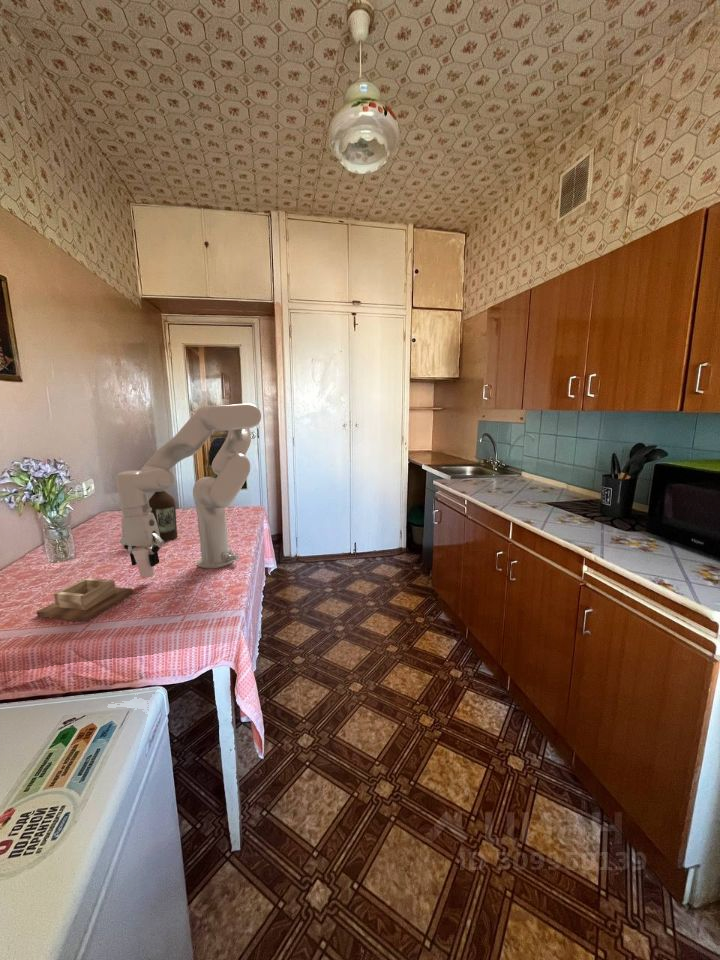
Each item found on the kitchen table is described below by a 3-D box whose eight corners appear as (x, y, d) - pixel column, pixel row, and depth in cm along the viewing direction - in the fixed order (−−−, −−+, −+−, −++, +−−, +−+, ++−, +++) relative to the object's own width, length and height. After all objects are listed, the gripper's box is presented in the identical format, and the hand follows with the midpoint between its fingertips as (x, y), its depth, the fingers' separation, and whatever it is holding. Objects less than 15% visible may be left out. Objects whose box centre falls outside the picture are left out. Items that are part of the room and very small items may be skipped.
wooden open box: (133, 593, 115) (130, 576, 114) (86, 622, 100) (83, 603, 99) (89, 589, 119) (86, 573, 118) (37, 616, 103) (33, 598, 102)
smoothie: (143, 582, 117) (135, 539, 114) (132, 577, 121) (124, 536, 118) (163, 573, 123) (156, 533, 120) (152, 569, 126) (145, 530, 123)
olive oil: (148, 538, 165) (141, 482, 160) (174, 532, 172) (168, 479, 167) (156, 544, 157) (149, 486, 153) (182, 538, 165) (176, 482, 160)
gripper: (168, 507, 119) (177, 560, 123) (122, 506, 122) (131, 558, 126) (151, 514, 112) (161, 570, 116) (102, 513, 115) (113, 568, 119)
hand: (145, 563), depth 121 cm, fingers closed on smoothie, 6 cm apart
